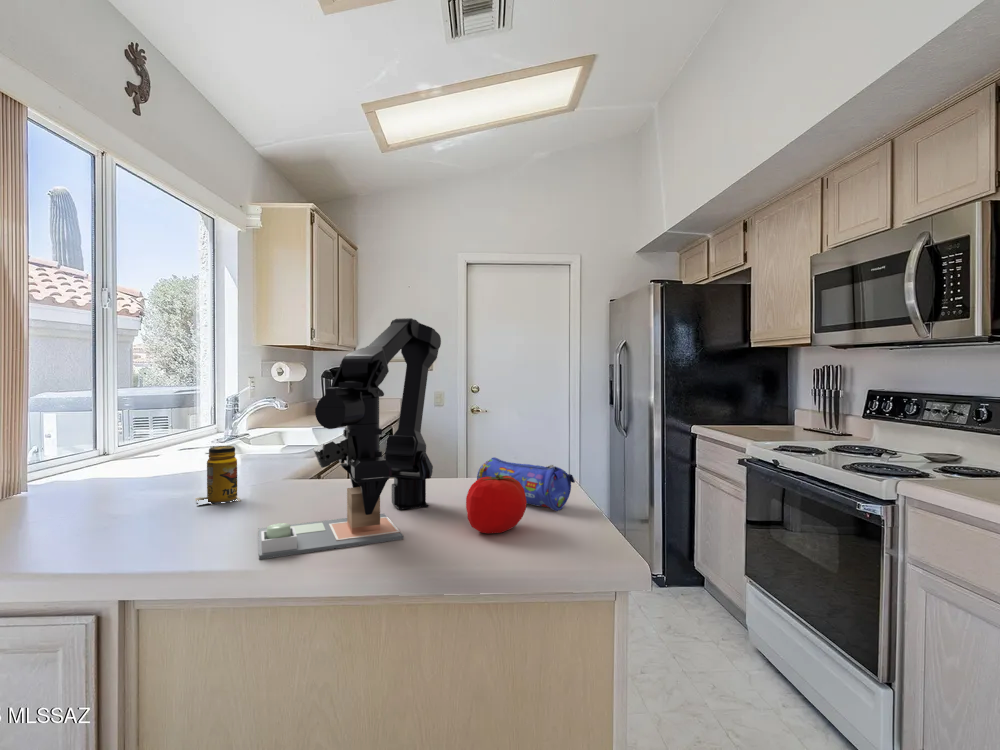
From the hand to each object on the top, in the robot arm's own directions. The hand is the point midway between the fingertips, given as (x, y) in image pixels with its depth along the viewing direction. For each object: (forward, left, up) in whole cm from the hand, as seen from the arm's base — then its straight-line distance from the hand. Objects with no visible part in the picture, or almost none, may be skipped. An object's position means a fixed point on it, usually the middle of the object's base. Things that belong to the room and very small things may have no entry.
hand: (363, 507), depth 96 cm
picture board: (+6, -1, -4) cm, 7 cm away
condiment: (+25, -36, -5) cm, 44 cm away
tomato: (-23, +9, -5) cm, 25 cm away
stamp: (0, 0, -4) cm, 4 cm away
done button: (+14, +3, -3) cm, 15 cm away
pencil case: (-36, -6, -5) cm, 37 cm away
